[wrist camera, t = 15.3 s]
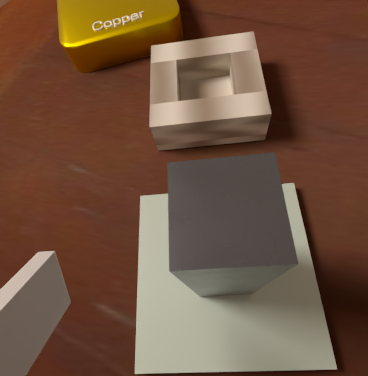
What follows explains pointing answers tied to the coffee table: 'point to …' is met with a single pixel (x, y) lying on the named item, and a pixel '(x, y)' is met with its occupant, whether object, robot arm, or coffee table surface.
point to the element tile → (115, 30)
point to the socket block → (207, 92)
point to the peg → (228, 224)
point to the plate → (226, 311)
